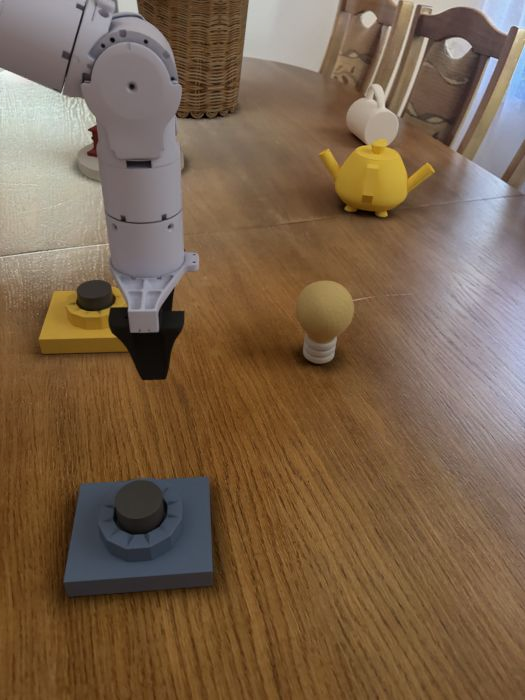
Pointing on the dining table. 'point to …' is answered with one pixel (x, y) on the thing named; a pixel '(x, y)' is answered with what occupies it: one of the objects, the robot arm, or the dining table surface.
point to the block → (140, 541)
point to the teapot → (373, 178)
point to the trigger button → (95, 295)
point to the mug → (372, 118)
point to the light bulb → (323, 318)
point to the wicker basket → (203, 50)
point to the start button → (139, 506)
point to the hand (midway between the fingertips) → (156, 348)
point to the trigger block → (78, 326)
